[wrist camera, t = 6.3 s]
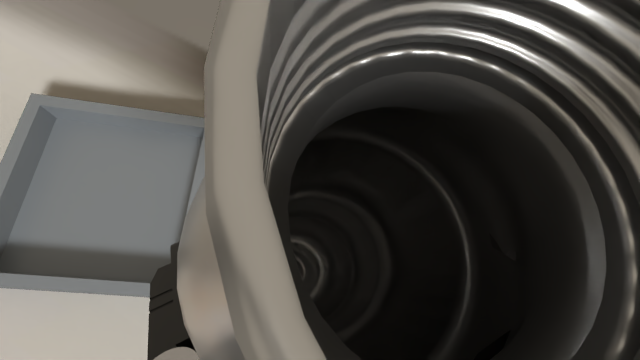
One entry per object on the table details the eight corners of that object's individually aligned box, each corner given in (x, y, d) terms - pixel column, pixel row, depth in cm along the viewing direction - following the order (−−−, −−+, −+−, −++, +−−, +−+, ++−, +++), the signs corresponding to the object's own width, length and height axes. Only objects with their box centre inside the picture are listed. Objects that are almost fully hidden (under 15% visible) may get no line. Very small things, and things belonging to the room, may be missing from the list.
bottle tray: (-17, 284, 19) (-53, 284, 17) (53, 111, 23) (31, 93, 21) (190, 297, 21) (181, 299, 19) (222, 134, 25) (217, 119, 23)
